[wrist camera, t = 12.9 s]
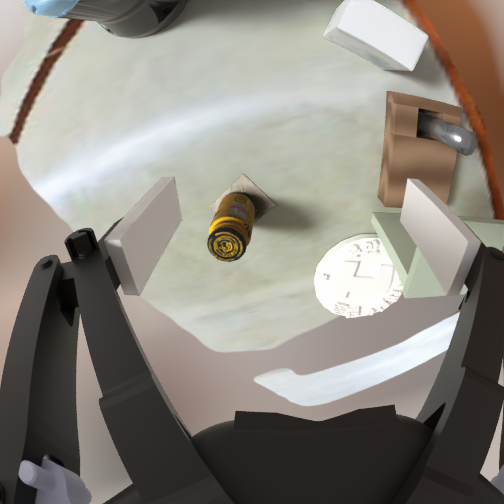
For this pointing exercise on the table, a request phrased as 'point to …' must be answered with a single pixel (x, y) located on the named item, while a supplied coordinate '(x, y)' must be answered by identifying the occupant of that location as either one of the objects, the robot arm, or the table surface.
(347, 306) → the white round plaque
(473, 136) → the peg
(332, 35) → the skincare box
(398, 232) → the pale green angled bracket
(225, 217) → the condiment
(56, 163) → the table surface
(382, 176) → the socket block
